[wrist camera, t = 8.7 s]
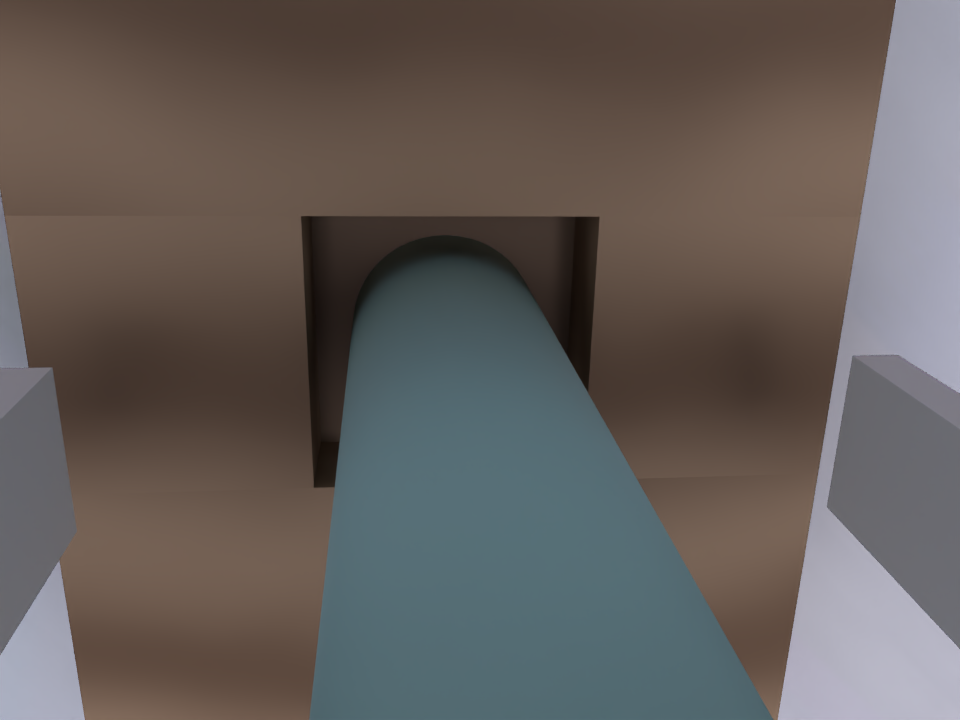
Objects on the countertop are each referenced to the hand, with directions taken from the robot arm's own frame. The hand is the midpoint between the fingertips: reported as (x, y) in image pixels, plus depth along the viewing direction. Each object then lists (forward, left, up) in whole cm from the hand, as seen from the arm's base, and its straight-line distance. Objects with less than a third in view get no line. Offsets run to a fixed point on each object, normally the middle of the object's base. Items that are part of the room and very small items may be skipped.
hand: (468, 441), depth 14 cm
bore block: (0, 0, -7) cm, 7 cm away
